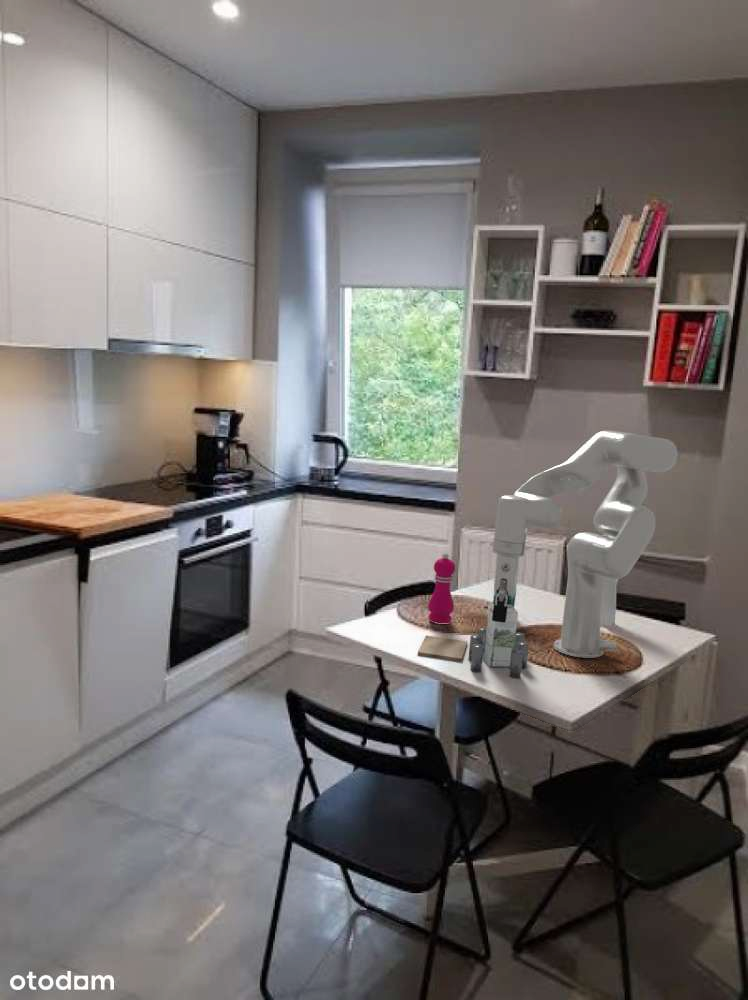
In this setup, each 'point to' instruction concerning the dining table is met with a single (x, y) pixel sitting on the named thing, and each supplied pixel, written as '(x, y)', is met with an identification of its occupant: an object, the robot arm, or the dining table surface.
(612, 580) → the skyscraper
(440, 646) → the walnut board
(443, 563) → the pepper mill
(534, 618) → the dining table surface
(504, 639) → the syrup box
